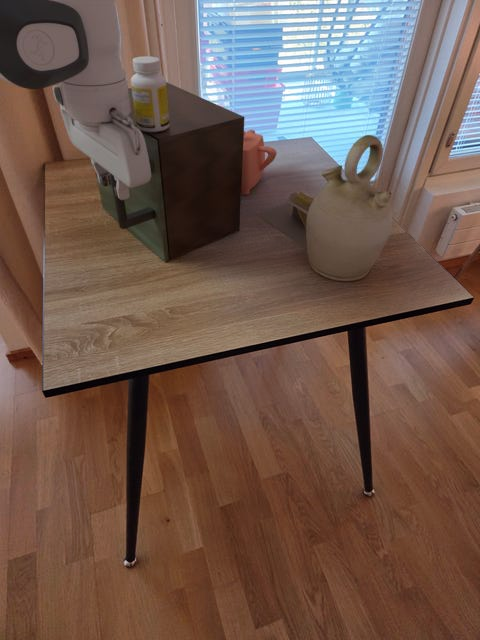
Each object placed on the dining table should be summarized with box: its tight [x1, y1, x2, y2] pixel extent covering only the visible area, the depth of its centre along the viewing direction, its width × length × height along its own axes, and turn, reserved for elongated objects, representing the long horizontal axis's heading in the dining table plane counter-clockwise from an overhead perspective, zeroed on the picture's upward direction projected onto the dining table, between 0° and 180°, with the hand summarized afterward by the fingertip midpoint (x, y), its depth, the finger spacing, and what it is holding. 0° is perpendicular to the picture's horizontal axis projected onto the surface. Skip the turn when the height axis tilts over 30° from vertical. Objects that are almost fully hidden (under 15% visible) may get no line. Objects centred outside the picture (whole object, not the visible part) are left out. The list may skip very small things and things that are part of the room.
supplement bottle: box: [130, 55, 169, 132], centre depth 66 cm, size 5×5×10 cm
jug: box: [306, 134, 393, 282], centre depth 75 cm, size 15×16×25 cm
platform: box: [256, 190, 315, 251], centre depth 92 cm, size 12×18×7 cm, turn 37°
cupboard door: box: [94, 130, 170, 263], centre depth 79 cm, size 8×26×23 cm, turn 40°
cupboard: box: [128, 81, 245, 261], centre depth 85 cm, size 18×26×24 cm
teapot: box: [241, 129, 277, 196], centre depth 102 cm, size 17×16×13 cm
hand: (114, 190), depth 69 cm, fingers open, 4 cm apart
